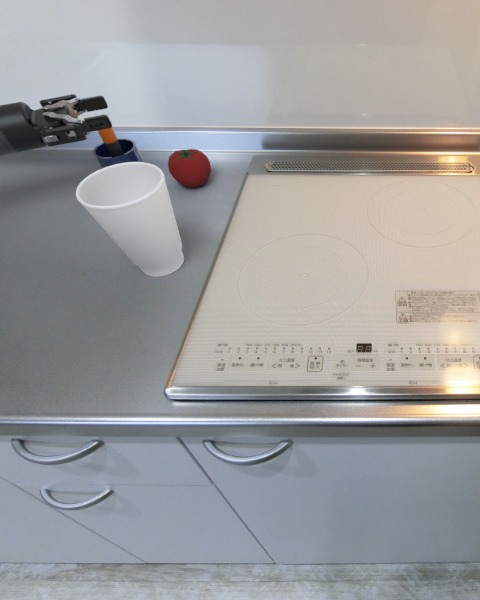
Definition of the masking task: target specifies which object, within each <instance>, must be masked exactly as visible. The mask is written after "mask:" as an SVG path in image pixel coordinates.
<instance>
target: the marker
mask: <svg viewBox="0 0 480 600" xmlns="http://www.w3.org/2000/svg"><path fill="white" fill-rule="evenodd" d="M97 133H98V135H99V137H100V138H101V140H102V143H103V142H104V144H105V145H106V147H107V149H108V151H109V153H110V155H111V157H116V156H120V155H123V154H125V153H124V151H123V149H122V147H121V145H120V143H119V141H118V139H119V138H118V136H117V135H116V133H115V131H114V129H113V126H112V127H111V128H108V129H103V130H98V131H97Z"/></svg>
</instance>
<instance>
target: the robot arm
mask: <svg viewBox="0 0 480 600" xmlns="http://www.w3.org/2000/svg"><path fill="white" fill-rule="evenodd" d="M39 105H40V106H41V108H38V109H35V110H34V109H32V108H30V106H29V104H27V103H25V102H24V101H18V102H12V103H6V104H5V103H4V104H1V105H0V157H1V156H7V155H11V154H17V153H21V152H22V153H23V152H26V151H31V150H36V149H42V148H45V147H47V146H48V147H55V146H61V145H66V144H72V143H78V142H83V141H86V140H87V139H88V138H87V136H89V135H90V134H91V133H92V132H98V130H103V129H108V128H111V127H112V128H113V123H112V121H111V120H110V118H109V116H108V115H107V114H100V115H94V116H89V117H84V118H79V116H80V115H82V114H85V113H89V112H95V111H101V110H106V109H108V108H109V106H108V102H107V100H106V98H105V97H104V96H103V95H95V96H90V97H84V98H80V97H78V96H77V95H76V94H75V93H71V94H67V95H62V96H57V97H52V98H51V97H50V98H47V99H46V98H45V99H41V100H39Z"/></svg>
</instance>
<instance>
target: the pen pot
mask: <svg viewBox="0 0 480 600" xmlns="http://www.w3.org/2000/svg"><path fill="white" fill-rule="evenodd" d="M117 139H118V141H119V143H120V145H121V147H122V149H123V151H124V153H125V154H123V155H120V156H116V157H111V155H110V153H109V151H108V149H107V147H106V145H105V144H104V142H103V141H102V142H101V143H99V144H98V145H96V146H95V147H94V148H93V150H92V155H93V157H94V159H95V160H96V162H97V164H98V166H99V168H100V169H102V168H105V167H108V166H111V165H115V164H120V163H126V162H144V163H146V162H145V161H144V158H143V156H142V154H141V151H140V149H139V148H138V145H137V143H136V142H135V141H134V140H132V139H129V138H117Z"/></svg>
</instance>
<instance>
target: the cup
mask: <svg viewBox="0 0 480 600" xmlns="http://www.w3.org/2000/svg"><path fill="white" fill-rule="evenodd" d="M144 162H145V161H144ZM144 162H126V163H120V164H115V165H111V166H108V167H105V168H102V169H101V168H100V169H97V170H96V171H94V172H92V173H91V174H89V175H87V176H86V177H85V178H83V180H81V181H80V182H79V184H77V185H78V186H77V187H76V190H75V198H76V200H77V201H78V203H80V204H81V205H82V207H84V208H85V209H86V211H87V212H88V214H90V215H91V216H92V218H94V220H95V221H96V222H97V223H98V225H100V226H101V228H102V230H103V231H105V232H106V234H107V235H108V236H109V237H110V239H112V241H113V242H114V243H115V244H116V245H117V246H118V247H119V249H121V251H122V252H123V253H124V254H125V255H126V256H127V258H128V259H129V260H130V261H131V262H132V263H133V264H134V265H135V266H137V267H139V269H140V270H141V271H142V273H144V275H146V276H149V277H154V278H159V277H165V276H168V275H171V274H173V273H175V272H176V271H178V270H179V269H180V268H181V267H182V266H183V265H184V262H185V255H184V252H183V242H182V238H181V235H180V234H181V233H180V231H179V227H178V223H177V220H176V217H175V211H174V207H173V205H172V204H173V203H172V201H171V198H170V193H169V190H168V186H167V182H166V178H165V177H166V176H165V174H164V172H163V170H162V169H161V168H160V167H159V166H157V165H155V164H152V163H150V162H145V163H144Z"/></svg>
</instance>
